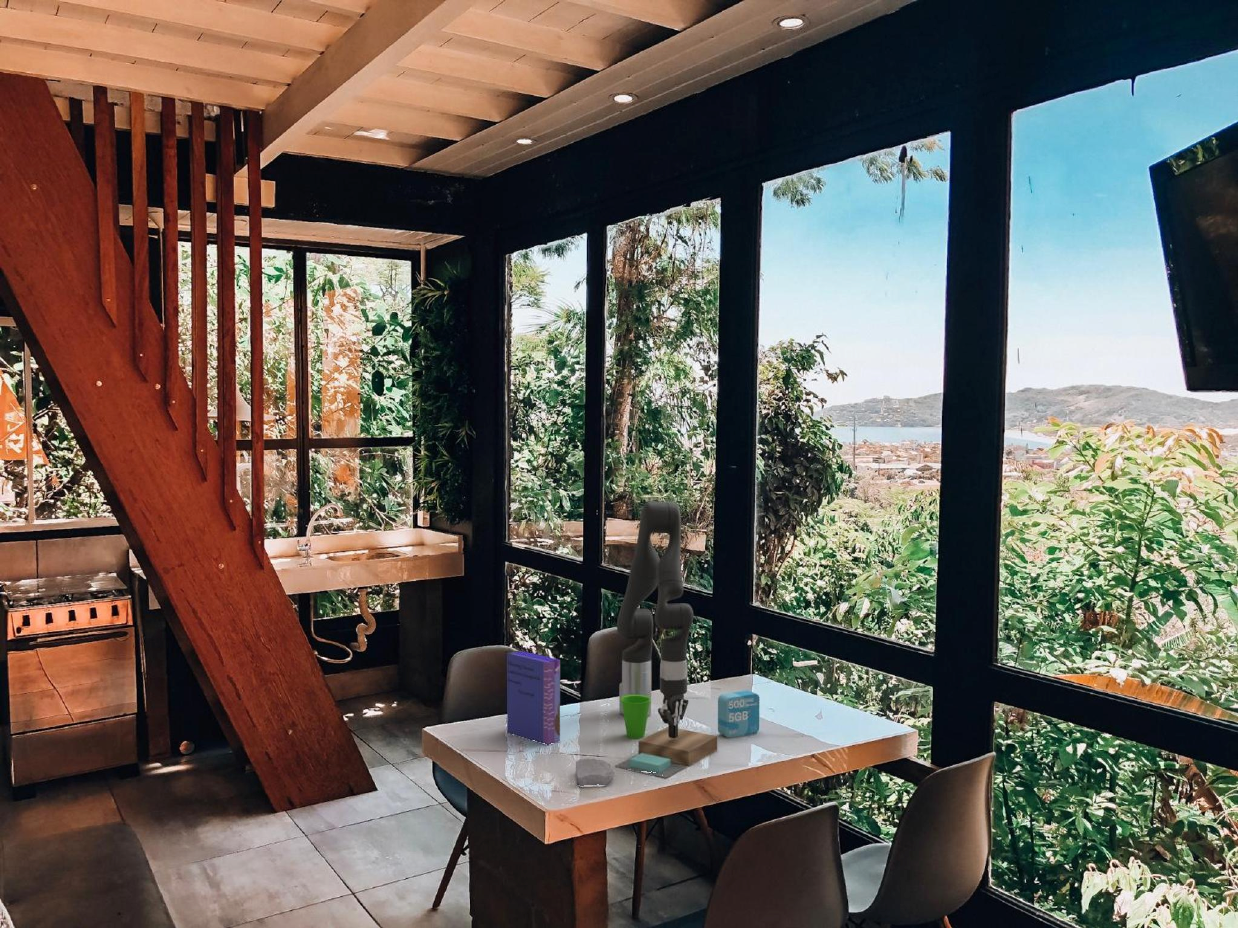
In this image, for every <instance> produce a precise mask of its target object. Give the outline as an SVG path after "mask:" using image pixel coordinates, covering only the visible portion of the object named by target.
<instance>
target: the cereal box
mask: <svg viewBox="0 0 1238 928" xmlns="http://www.w3.org/2000/svg"><path fill="white" fill-rule="evenodd" d="M506 684H507V685H506V687H507V688H506V698H507V699H506V712H507V713H506V720H507V721H506V724H507V725H506V733H507V734H509V733H510V735H512V734H514V735H513V736H516V737H519V736H520V737H519V738H522V737H524V738H523V739H525V738H526V739H525V740H528V739H530V740H529V741H532V740H535V741H537V742H536V743H538V742H541V743H545V744H547V745H546V746H550V745H549V744H551V743H555V742H558V741H560V742H561V659H558V658H554V657H550V656H545V655H540V654H536V653H532V652H528V651H522V650H514V651H513V650H512V651H510V652H507V653H506ZM535 741H534V742H535ZM541 743H540V744H541ZM558 743H559V742H558ZM555 744H556V743H555ZM551 745H552V744H551Z"/></svg>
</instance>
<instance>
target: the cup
mask: <svg viewBox="0 0 1238 928" xmlns="http://www.w3.org/2000/svg"><path fill="white" fill-rule="evenodd" d="M620 700H621V701H622V706H623V713H624V715H623V718H624V726H625V731H626V737H628V738H630V739H641V738H642V739H643V738H645V734H646V730H647V729H646V728H647V722H648V710H649V704H650V701H651V702H652V697H651V698H650V697H648V696H644V695H627V696H623V697H621V699H620Z"/></svg>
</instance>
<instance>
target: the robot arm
mask: <svg viewBox="0 0 1238 928" xmlns="http://www.w3.org/2000/svg"><path fill="white" fill-rule="evenodd" d="M639 519H640V520H639V527H638V535H637V540H636V546H635V550H634V555H633V558H632V562H631V566H630V571H629V576H628V581H627V586H626V591H625V593H624V594H625V595H624V598H623V601H622V603H621V607H620V609H619V612H618V616H617V620H616V621H617V622H616V631H617V635H618V636H619V637H620V638H621V639H623V640H635V639H638V640H637V641H636V642H635V643H634V644H632V645H631V646H628V647H627V648H624V650H622V654H621V655H622V656H621V657H622V658H621V660H622V661H621V663H622V664H621V665H622V666H621V679H622V680H621V682H620V683H619V684H618V685H619V687H618V688H619V691H618V692H619V695H618V696H619V697H618V698H619V700H618V701H619V703H618V704H619V705H618V706H619V707H618V708H619V710H618V713H619V714H622V715H623V716H624V713H623V706H622V701H621V700H620V699H621V697H623V696H627V695H644V696H648V697H650V698H651V699H652V655H653V654H652V653H653V636H654V622H655V625H656V626H657V627H658V628H659V629H660V630H678V631H677V632H676V633H675V634H673V635H671V636H670V635H669V636H667V637H664V638H662V640H661V643H660V644H661V645H660V655H661V656H660V665H659V666H660V667H659V673H660V674H659V691H660V693H661V694H663V698H662V704H663V705H662V706H661V707H659V708H657V712H658V714H659V717H660V718H661V720H662V722H663V724H665V725H666V724H667V725H668V726H669V728H668V735H669V737H670V738H676V737H678V728H679V724H680V723H681V721H683V719H684V718H685V717H684V716H685V713H686V710H687V707H688V706H689V700H688V699H685V694H686V693H687V692H688V664H687V663H688V661H687V651H688V647H687V646H688V641H689V640H688V639H689V634H690V631H691V627H692V624H693V620H694V611H693V608H692V606H691V605H690V604H689V603H685V602H683V603H682V602H680V603H677V602H676V603H668V602H669V601H672V600H677V599H679V598H681V597H682V596H683V595H684V585H683V575H682V568H681V550H682V549H681V546H682V536H681V535H682V533H681V532H682V530H681V529H682V518H681V511H680V507H679V505H678V504H677V502H673V501H656V500H650V501H646V502H645V503H644V505H643V507H642V510H641V514H640V518H639ZM652 534H668V537H669V538H668V544H667V546H666V549H665V550H664V552H663V554H662V555H661V558H660V556H659V555H658V553H657V551H656V549H655V547H654V545H653V543H652V539H651V536H652ZM656 589H657V590H658V591H657V593H658V595H657V596H658V597H657V603H656V608H655V613H654V617H653V614H652V612H651V610H650V609H649V608H639V606H640V605H641V604H642V603H643V602H644V601H645V600H646V599H647V598H649V596H650V595H651V594H652V593H653V592H654V591H655V590H656ZM650 715H652V700H651V701H650V704H649V710H648V716H650ZM668 726H667V727H668Z"/></svg>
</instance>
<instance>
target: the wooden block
mask: <svg viewBox="0 0 1238 928" xmlns="http://www.w3.org/2000/svg"><path fill="white" fill-rule="evenodd" d="M668 728H669V726H666V727H665V728H662V729H660V730H658V731H656V732H654V733H652V734H650V735H648V736H646V737H645V736H644V737H642V739H641V738H640V739H639V740H638V742H637V743H638V746H637V747H638V753H637V754H638V755H639V754H641V753H644V754H649V755H653V756H658V757H663V758H667V759H671V763H672V762H673V763H672V764H676V763H679V764H678V765H680V766H685V767H690V766H692V765H694V764H695V763H697V762H699V761H701V760H702V759H705V758H706V757H708V756H710V755H711V754H713V753H715V752H717V751H718V736H717V735H714V734H710V733H704V732H698V731H695V730H694V731H693V730H687V729H684V728H679V727H678V737H676V738H670V737H669V735H668ZM693 763H694V764H693Z"/></svg>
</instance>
